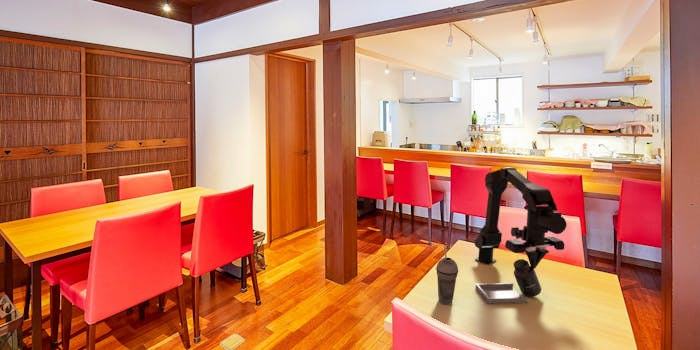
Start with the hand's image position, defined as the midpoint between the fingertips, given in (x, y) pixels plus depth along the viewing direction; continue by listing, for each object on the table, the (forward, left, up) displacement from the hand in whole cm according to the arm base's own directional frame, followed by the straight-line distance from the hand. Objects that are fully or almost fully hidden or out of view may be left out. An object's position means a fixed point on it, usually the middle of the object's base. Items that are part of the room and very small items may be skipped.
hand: (533, 268), depth 123 cm
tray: (+8, -7, -10) cm, 15 cm away
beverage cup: (+26, -17, -10) cm, 33 cm away
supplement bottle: (-1, 0, -9) cm, 9 cm away
